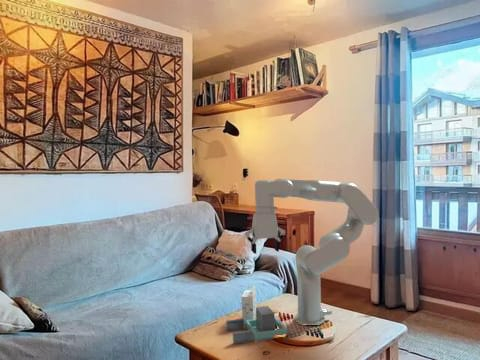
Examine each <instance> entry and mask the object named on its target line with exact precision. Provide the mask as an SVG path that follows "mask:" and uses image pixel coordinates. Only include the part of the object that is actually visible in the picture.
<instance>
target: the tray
mask: <svg viewBox="0 0 480 360" xmlns="http://www.w3.org/2000/svg"><path fill="white" fill-rule="evenodd" d="M274 321H275V324H276V325H277V326H278V327H279V328H280V329H277V330H270V331H263V332H260V331H259V330H258V328H257V327H256V319H252V320H245V324H244V326H245V329H246V331H249V330H251V331H252V341H253V342H255V343H256V342H261V341H262V342H263V341H268V340H270V341H271V340H275V339H274V336H275V335H283V334H287V335H288V328H286V326H285V325H284V324H283V323H282V322H281V321H280V320H279V319H278V317H277V316H275V315H274Z"/></svg>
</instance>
